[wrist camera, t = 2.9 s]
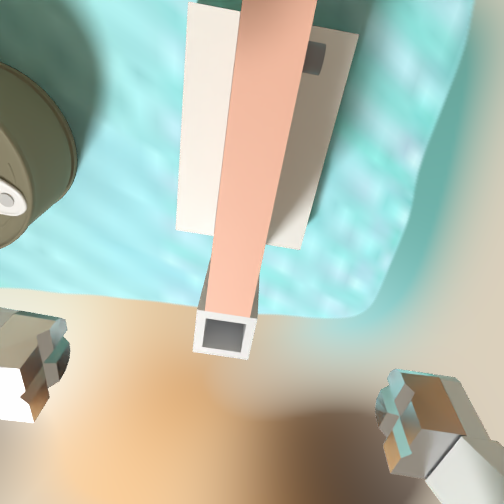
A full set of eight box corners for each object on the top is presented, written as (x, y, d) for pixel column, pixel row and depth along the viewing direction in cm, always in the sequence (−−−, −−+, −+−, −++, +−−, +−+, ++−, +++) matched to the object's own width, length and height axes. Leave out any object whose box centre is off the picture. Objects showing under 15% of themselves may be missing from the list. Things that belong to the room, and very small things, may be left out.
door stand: (182, 215, 31) (175, 229, 29) (196, 3, 23) (188, 1, 21) (298, 234, 31) (299, 249, 29) (351, 33, 23) (359, 34, 21)
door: (219, 238, 32) (192, 351, 21) (251, 2, 23) (231, -19, 12) (267, 245, 32) (265, 362, 21) (316, 15, 23) (359, 6, 12)
